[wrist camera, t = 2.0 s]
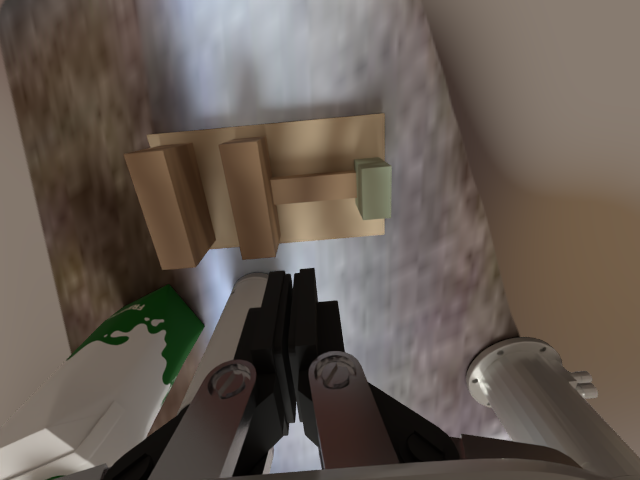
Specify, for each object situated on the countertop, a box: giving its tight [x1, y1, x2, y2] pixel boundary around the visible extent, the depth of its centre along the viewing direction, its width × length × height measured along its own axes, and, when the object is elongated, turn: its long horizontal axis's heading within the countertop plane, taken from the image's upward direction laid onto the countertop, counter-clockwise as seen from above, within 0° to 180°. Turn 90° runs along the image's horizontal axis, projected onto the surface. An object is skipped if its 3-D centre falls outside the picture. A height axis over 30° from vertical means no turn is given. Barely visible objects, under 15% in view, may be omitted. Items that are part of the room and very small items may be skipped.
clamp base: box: [124, 113, 385, 270], centre depth 28 cm, size 22×12×7 cm, turn 95°
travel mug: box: [177, 273, 269, 415], centre depth 27 cm, size 6×7×20 cm
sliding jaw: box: [218, 136, 391, 260], centre depth 27 cm, size 13×10×5 cm
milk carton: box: [0, 284, 205, 480], centre depth 28 cm, size 9×9×20 cm
